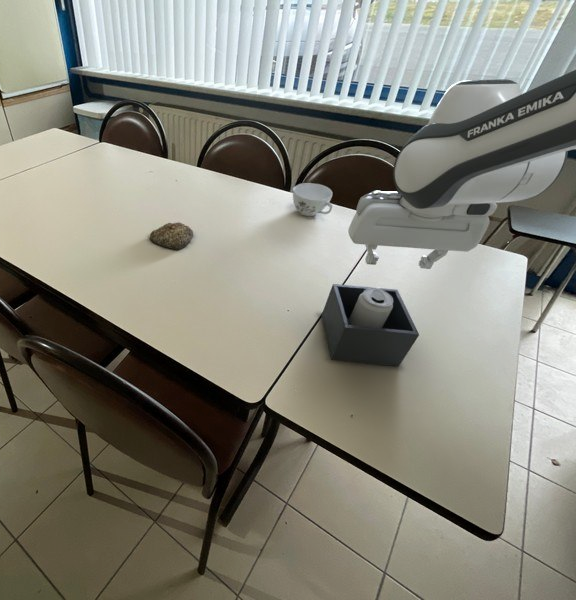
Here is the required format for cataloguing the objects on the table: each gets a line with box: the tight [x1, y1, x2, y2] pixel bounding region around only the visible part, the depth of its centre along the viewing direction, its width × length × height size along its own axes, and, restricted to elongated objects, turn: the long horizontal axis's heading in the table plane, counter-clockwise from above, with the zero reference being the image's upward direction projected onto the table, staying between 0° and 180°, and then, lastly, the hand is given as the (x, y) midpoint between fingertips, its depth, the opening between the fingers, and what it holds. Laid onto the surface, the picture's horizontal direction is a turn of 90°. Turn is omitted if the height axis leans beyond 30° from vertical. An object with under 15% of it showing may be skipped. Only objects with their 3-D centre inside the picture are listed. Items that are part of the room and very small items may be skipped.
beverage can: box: [348, 287, 393, 328], centre depth 77 cm, size 6×6×12 cm
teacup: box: [292, 182, 333, 217], centre depth 122 cm, size 15×12×8 cm
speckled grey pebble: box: [149, 221, 194, 250], centre depth 112 cm, size 13×12×5 cm
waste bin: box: [320, 283, 420, 368], centre depth 78 cm, size 14×14×10 cm
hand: (396, 264), depth 67 cm, fingers open, 8 cm apart
